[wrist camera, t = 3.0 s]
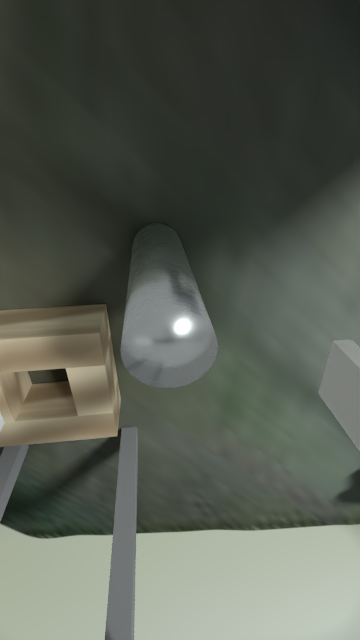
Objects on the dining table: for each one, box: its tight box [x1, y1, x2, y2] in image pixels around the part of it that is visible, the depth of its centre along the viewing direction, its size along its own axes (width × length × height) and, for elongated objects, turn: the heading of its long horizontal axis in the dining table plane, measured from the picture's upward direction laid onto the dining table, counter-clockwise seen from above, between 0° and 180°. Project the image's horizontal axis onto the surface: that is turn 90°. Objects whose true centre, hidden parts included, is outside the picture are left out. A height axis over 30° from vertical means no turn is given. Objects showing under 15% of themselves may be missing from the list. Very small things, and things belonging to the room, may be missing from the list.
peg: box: [121, 223, 218, 388], centre depth 20 cm, size 4×4×15 cm
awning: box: [0, 427, 138, 640], centre depth 26 cm, size 6×15×21 cm, turn 91°
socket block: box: [0, 304, 121, 447], centre depth 29 cm, size 12×12×5 cm
